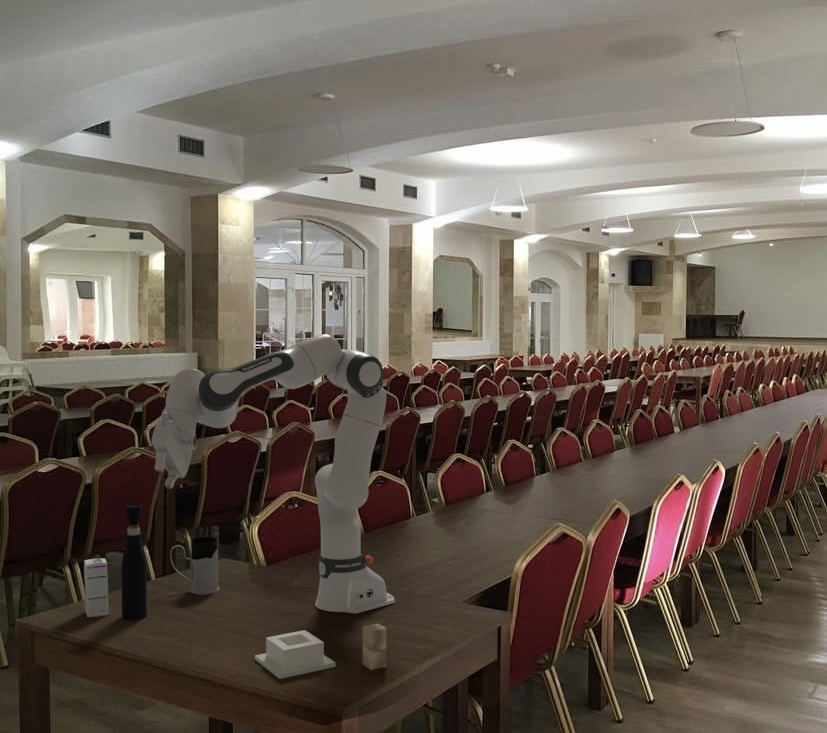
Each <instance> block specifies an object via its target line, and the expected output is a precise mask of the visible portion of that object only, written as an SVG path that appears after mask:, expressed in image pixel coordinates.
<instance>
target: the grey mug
mask: <svg viewBox="0 0 827 733" xmlns="http://www.w3.org/2000/svg"><path fill="white" fill-rule="evenodd" d="M190 542H191V543H190V544H191V547H190V548H191V550H190V551H191V553H190V554H191V556H190V557H187V554H186V553H187V552H186V549H185V548H184V546H182V545H180V544H177V545H174V546H173V547H171V549H170V550H169V551H170V552H169V558H170V563H171V565H172V568H173V570H174V571H176V573H178V574H179V575H180V576H182V578H184V579H186V581H188V582H189V586H190V589H189V590H190V591H189V593H190V592H192V593H191V594H193V593H195V594H194V595H209V594H210V595H211V594H215V593H217V591H218V592H219V591H220V586H219V546H218V539H217V538H216V537H212V536H211V537H210V536H203V537H196V538H195V537H194V538H193V539H191V541H190ZM177 547H179V548H181V549H183V552H184V558H185V559H186V560H189V561H190V579H189V578H188V577H186V576H185V575H184V574H183V573H181V572H180V571H179V570H178V569H177V568H176V567H175V564H174V562H173V559H172V551H173V549H175V548H177Z"/></svg>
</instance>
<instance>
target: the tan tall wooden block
mask: <svg viewBox="0 0 827 733" xmlns="http://www.w3.org/2000/svg"><path fill="white" fill-rule="evenodd" d="M362 666H364V667H365V668H367V669H369V670H370V671H373V670H378V669H382V668H387V628H386V627H385V626H384V625H381V624H380V623H372V624H369V625H363V626H362Z"/></svg>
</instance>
